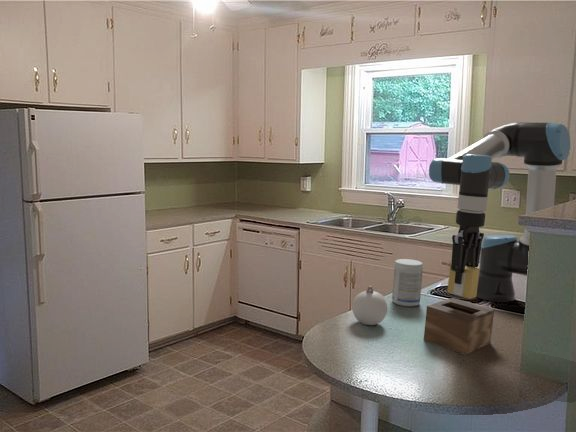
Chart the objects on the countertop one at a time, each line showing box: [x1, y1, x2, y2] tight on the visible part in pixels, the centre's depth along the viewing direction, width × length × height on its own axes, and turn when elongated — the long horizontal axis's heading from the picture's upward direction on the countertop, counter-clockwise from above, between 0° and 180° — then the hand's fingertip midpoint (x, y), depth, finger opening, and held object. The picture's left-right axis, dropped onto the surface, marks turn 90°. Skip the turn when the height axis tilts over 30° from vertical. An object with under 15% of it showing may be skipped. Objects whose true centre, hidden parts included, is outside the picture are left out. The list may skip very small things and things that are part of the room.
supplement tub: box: [391, 258, 423, 307], centre depth 185 cm, size 10×10×15 cm
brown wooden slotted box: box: [423, 297, 495, 356], centre depth 152 cm, size 14×13×10 cm
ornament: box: [352, 285, 388, 326], centre depth 162 cm, size 10×10×12 cm
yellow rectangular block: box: [446, 264, 480, 300], centre depth 150 cm, size 4×7×8 cm, turn 43°
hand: (462, 293), depth 150 cm, fingers closed on yellow rectangular block, 3 cm apart
